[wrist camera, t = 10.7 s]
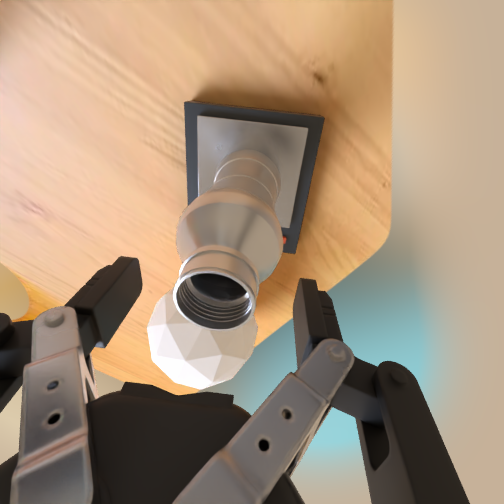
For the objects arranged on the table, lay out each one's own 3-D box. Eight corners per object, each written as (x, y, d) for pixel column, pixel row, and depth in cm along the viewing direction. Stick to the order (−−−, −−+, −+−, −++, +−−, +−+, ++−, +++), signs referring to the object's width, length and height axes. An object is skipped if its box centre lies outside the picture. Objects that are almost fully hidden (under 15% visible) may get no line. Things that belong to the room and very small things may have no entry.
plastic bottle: (261, 215, 31) (246, 368, 14) (209, 186, 29) (121, 317, 12) (292, 166, 28) (322, 287, 11) (235, 131, 26) (166, 207, 9)
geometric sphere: (197, 276, 47) (112, 305, 36) (259, 255, 38) (170, 286, 26) (222, 352, 47) (145, 406, 35) (292, 351, 37) (216, 424, 26)
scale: (190, 100, 28) (182, 101, 26) (321, 115, 28) (325, 118, 25) (193, 232, 37) (188, 243, 34) (294, 244, 36) (295, 256, 34)
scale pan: (199, 114, 26) (196, 115, 26) (307, 126, 26) (308, 128, 26) (199, 215, 32) (198, 217, 32) (289, 225, 32) (289, 228, 32)
